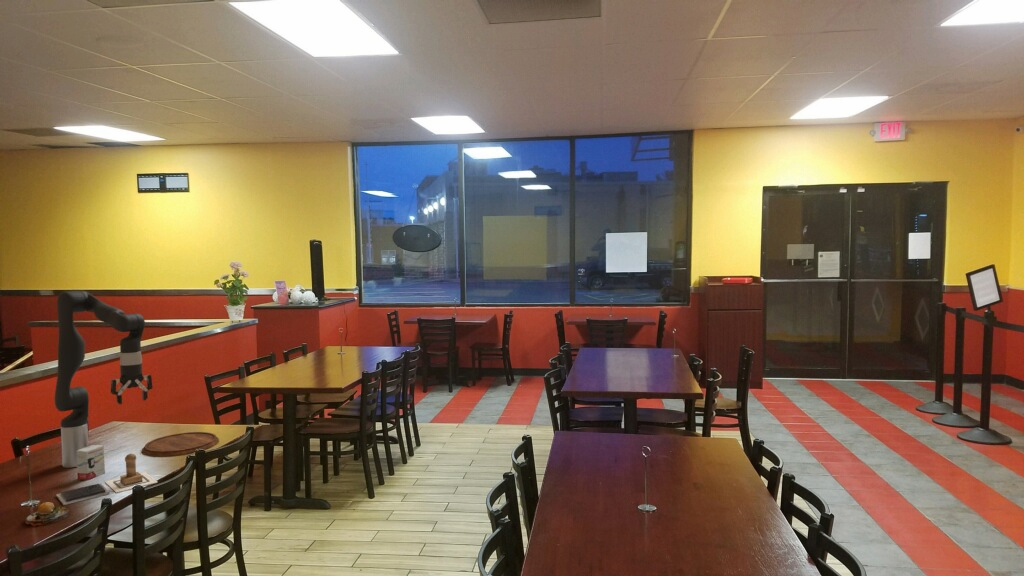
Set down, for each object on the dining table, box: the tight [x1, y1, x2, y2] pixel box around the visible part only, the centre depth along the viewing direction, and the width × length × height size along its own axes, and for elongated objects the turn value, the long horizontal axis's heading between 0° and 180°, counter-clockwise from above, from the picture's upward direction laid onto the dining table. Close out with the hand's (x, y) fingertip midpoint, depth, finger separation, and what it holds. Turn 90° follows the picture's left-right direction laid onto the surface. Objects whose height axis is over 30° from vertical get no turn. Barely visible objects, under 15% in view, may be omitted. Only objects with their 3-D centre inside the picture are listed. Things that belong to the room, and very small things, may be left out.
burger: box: [24, 501, 70, 527], centre depth 203 cm, size 12×12×8 cm
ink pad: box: [56, 483, 110, 506], centre depth 222 cm, size 12×14×1 cm
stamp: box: [119, 453, 143, 486], centre depth 235 cm, size 6×6×11 cm
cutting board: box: [141, 431, 220, 458], centre depth 281 cm, size 32×32×2 cm
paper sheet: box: [104, 471, 159, 494], centre depth 235 cm, size 16×14×1 cm
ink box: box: [76, 444, 106, 481], centre depth 242 cm, size 9×5×12 cm, turn 168°
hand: (132, 402), depth 243 cm, fingers open, 8 cm apart
